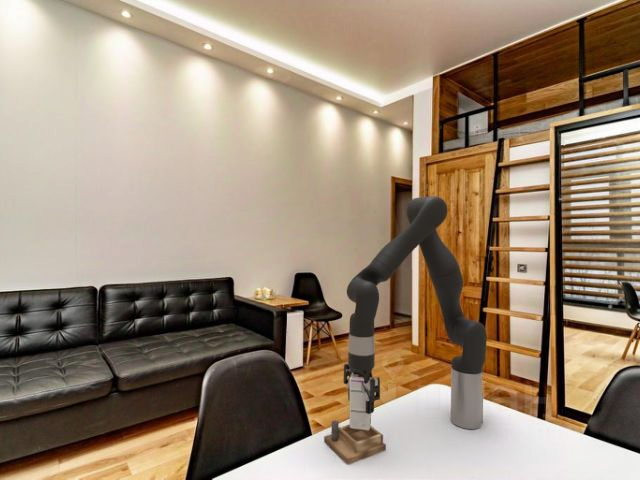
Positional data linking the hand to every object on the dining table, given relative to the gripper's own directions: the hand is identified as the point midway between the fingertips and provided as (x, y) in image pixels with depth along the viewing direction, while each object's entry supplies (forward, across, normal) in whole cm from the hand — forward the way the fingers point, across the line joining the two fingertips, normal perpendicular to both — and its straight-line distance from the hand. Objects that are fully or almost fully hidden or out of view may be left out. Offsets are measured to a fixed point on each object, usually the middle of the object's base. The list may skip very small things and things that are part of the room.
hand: (360, 406), depth 103 cm
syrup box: (+5, 0, 0) cm, 5 cm away
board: (+11, 0, +2) cm, 11 cm away
